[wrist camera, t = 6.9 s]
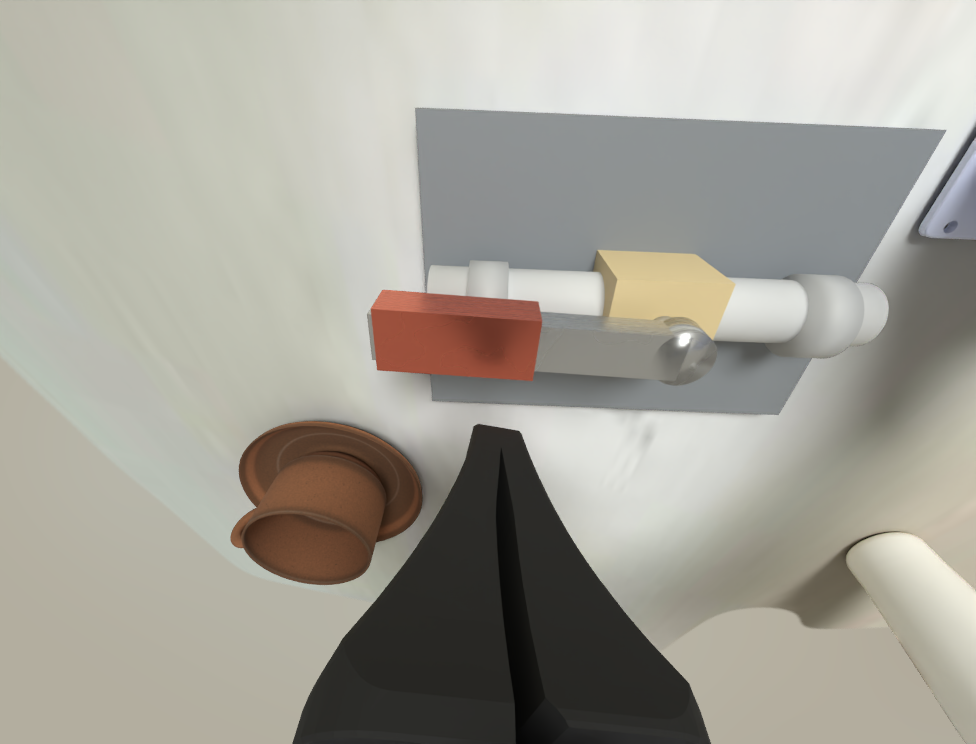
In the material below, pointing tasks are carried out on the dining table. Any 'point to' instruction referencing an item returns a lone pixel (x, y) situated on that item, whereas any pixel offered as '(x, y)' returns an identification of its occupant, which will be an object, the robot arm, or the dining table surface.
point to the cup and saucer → (323, 500)
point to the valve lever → (529, 340)
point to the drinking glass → (925, 617)
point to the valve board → (666, 239)
